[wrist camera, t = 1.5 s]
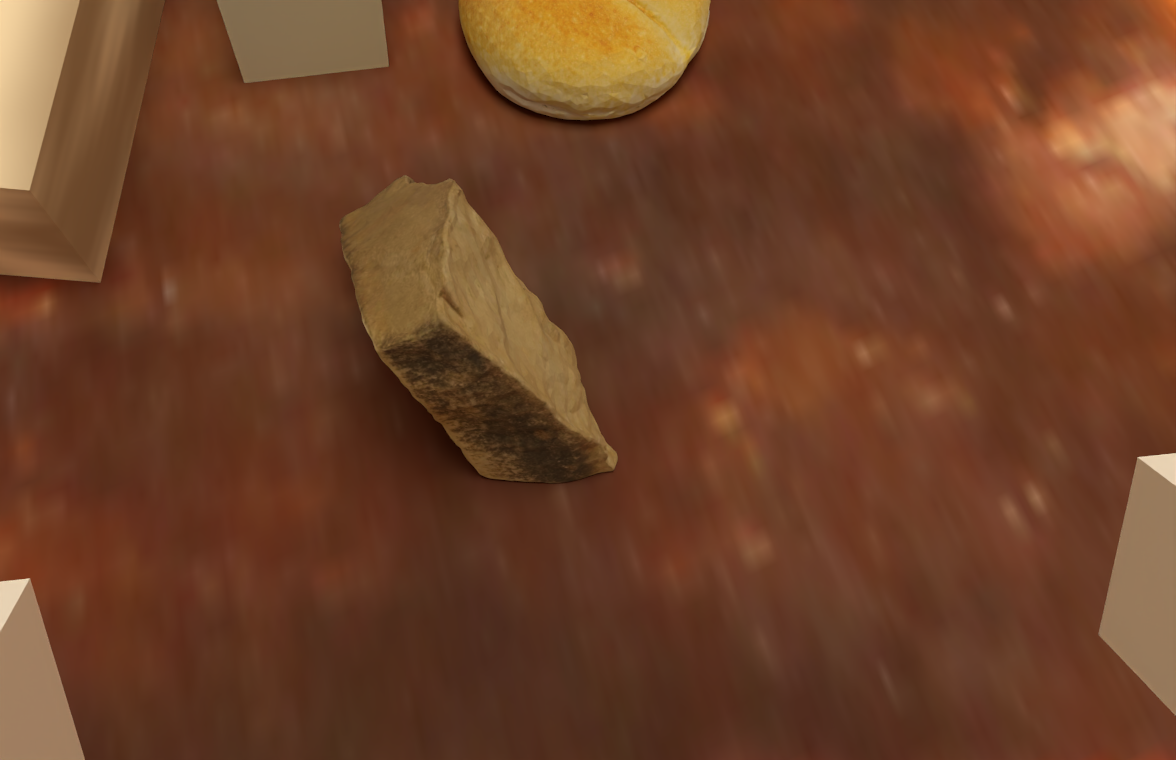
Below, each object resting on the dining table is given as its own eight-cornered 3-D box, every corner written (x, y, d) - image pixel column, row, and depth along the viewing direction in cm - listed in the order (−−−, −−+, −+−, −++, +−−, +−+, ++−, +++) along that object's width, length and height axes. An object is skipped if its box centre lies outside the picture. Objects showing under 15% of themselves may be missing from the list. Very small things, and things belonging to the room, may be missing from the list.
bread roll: (419, 53, 38) (413, -26, 34) (563, -95, 41) (572, -182, 37) (606, 178, 37) (621, 111, 33) (740, 17, 40) (767, -61, 36)
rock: (259, 163, 33) (232, 456, 28) (416, -7, 27) (414, 321, 22) (526, 277, 39) (540, 528, 35) (694, 159, 34) (737, 437, 29)
